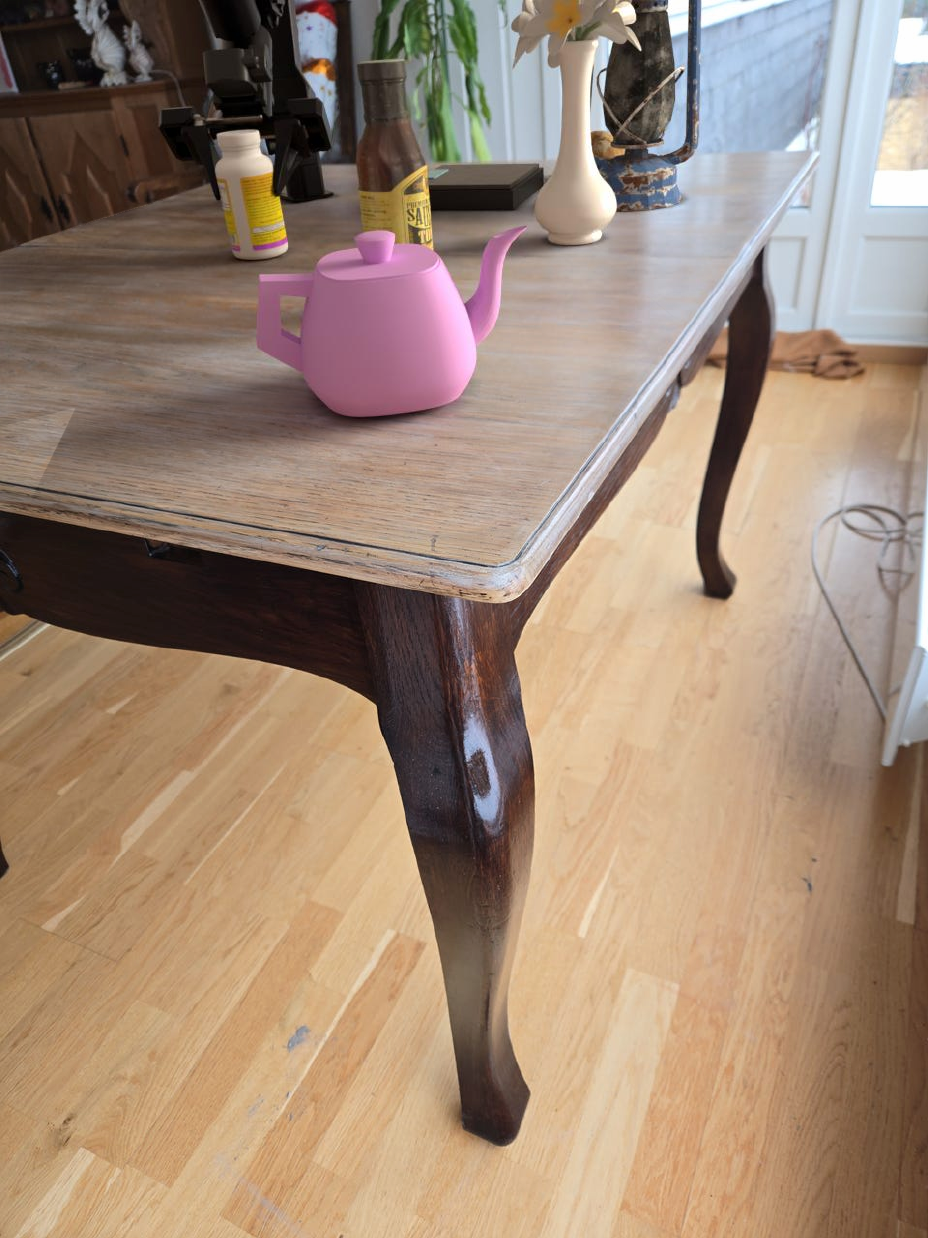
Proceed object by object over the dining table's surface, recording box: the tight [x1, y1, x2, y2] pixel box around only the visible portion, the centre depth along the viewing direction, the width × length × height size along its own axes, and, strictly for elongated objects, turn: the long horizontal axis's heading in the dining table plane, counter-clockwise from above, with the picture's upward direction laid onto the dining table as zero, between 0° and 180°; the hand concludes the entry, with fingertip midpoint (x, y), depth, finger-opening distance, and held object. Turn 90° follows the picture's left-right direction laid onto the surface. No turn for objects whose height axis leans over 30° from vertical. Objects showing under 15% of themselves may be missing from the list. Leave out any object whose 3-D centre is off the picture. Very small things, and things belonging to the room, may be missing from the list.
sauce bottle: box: [355, 58, 434, 251], centre depth 76 cm, size 7×6×20 cm
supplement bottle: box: [215, 130, 289, 261], centre depth 99 cm, size 7×7×13 cm
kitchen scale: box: [427, 163, 545, 211], centre depth 121 cm, size 16×16×3 cm
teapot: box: [255, 225, 528, 418], centre depth 62 cm, size 13×20×11 cm
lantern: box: [590, 0, 702, 212], centre depth 105 cm, size 15×12×30 cm
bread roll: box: [591, 130, 626, 159], centre depth 126 cm, size 10×10×8 cm
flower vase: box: [510, 0, 641, 246], centre depth 92 cm, size 13×18×25 cm
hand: (246, 196), depth 98 cm, fingers closed on supplement bottle, 6 cm apart
